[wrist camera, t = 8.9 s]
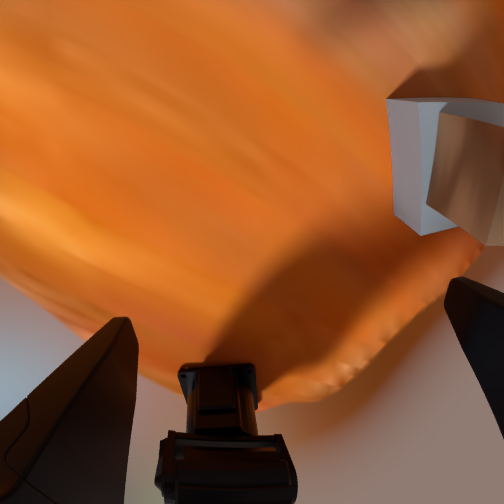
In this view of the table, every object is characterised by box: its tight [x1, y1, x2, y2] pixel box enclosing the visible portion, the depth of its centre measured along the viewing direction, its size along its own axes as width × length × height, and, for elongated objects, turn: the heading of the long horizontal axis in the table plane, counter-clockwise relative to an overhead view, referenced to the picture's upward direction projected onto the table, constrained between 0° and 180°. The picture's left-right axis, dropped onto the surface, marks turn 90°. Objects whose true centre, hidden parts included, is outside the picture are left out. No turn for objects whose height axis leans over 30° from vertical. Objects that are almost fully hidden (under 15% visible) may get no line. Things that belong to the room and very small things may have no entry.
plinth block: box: [386, 97, 504, 236], centre depth 18 cm, size 8×8×4 cm
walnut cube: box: [426, 112, 504, 246], centre depth 13 cm, size 6×6×6 cm
